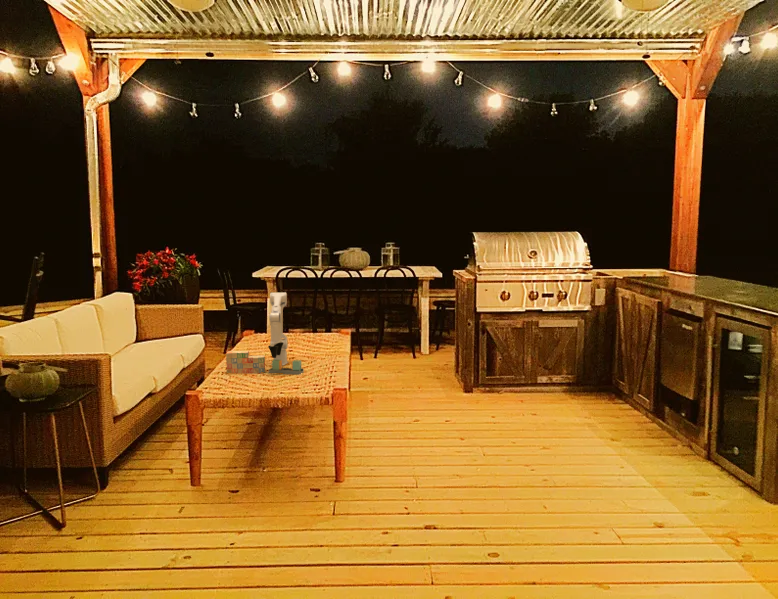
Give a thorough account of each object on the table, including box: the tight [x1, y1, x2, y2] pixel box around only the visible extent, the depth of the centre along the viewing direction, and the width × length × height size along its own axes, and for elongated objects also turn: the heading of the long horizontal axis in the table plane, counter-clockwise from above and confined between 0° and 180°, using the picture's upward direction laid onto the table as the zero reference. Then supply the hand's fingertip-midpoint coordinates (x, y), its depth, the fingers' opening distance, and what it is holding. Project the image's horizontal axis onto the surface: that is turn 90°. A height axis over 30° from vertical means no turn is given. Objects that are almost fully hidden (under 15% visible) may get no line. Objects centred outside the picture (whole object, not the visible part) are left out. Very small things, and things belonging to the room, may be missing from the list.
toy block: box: [271, 358, 283, 370], centre depth 372 cm, size 4×5×6 cm
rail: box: [267, 359, 305, 375], centre depth 371 cm, size 6×19×7 cm, turn 82°
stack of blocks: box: [225, 350, 266, 374], centre depth 373 cm, size 21×6×12 cm, turn 95°
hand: (276, 356), depth 372 cm, fingers open, 7 cm apart
